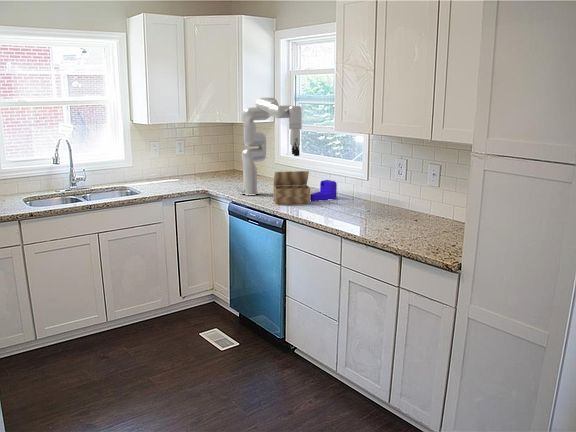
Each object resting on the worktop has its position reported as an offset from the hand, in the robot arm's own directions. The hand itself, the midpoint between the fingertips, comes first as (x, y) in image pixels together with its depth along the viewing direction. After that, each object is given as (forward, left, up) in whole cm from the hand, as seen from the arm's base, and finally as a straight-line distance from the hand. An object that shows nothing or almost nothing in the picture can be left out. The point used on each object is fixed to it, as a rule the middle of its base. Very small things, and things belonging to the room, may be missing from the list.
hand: (295, 155), depth 321 cm
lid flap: (-1, +14, -17) cm, 22 cm away
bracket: (+20, +19, -32) cm, 43 cm away
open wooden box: (-1, +12, -32) cm, 34 cm away
